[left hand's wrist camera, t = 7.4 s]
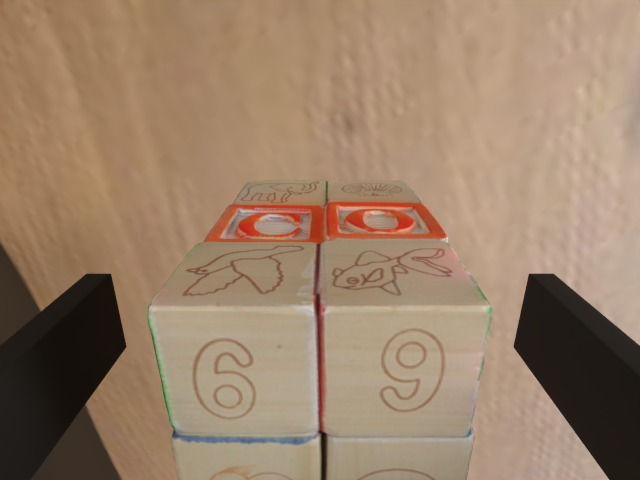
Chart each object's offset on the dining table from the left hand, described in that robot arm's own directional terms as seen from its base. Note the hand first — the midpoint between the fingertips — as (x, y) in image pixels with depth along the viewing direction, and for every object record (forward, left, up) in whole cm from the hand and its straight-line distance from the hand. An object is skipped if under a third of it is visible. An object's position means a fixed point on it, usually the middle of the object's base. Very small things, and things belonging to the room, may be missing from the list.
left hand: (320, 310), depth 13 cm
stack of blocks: (+7, 0, -4) cm, 8 cm away
